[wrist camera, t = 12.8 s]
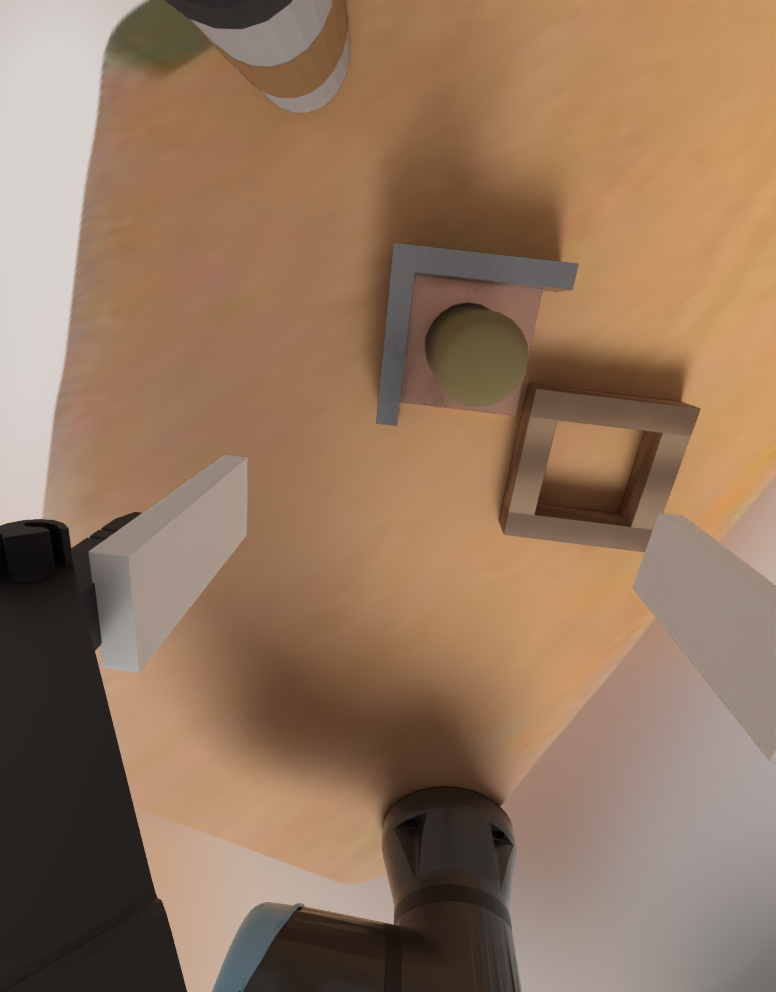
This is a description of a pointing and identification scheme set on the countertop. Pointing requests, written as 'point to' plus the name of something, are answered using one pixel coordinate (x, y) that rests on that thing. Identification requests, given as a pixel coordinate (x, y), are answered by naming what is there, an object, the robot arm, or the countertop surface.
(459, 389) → the olive stamp handle
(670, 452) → the socket block
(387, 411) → the corner cradle
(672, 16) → the countertop surface
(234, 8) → the coffee cup
